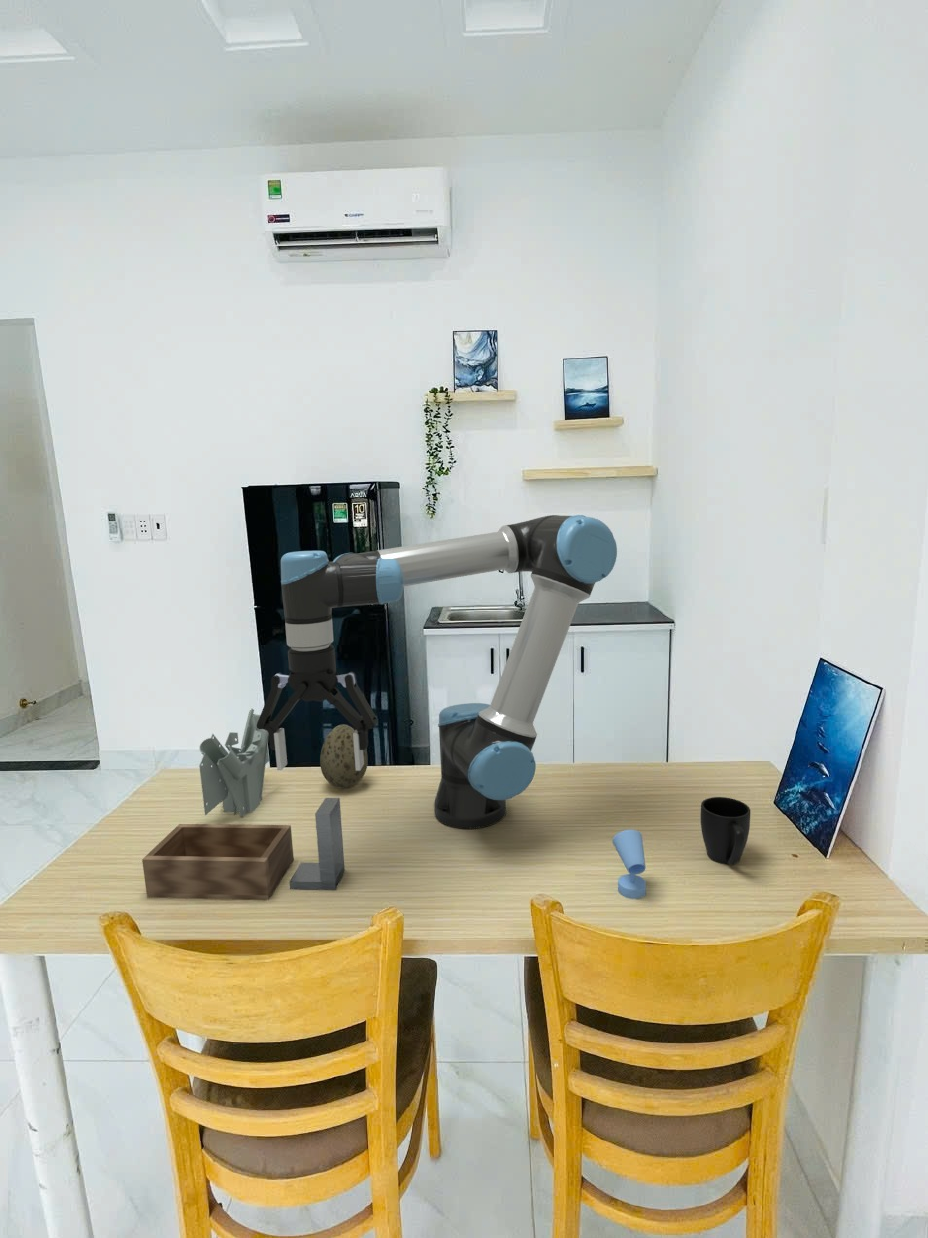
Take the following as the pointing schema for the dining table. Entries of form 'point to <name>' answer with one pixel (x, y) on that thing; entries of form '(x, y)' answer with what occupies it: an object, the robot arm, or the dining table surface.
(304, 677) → the robot arm
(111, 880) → the dining table surface
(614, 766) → the dining table surface
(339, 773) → the decorative egg
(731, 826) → the mug
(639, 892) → the spotlight
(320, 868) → the angle bracket
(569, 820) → the dining table surface
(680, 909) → the dining table surface
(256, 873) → the open wooden box
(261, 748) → the bracket
